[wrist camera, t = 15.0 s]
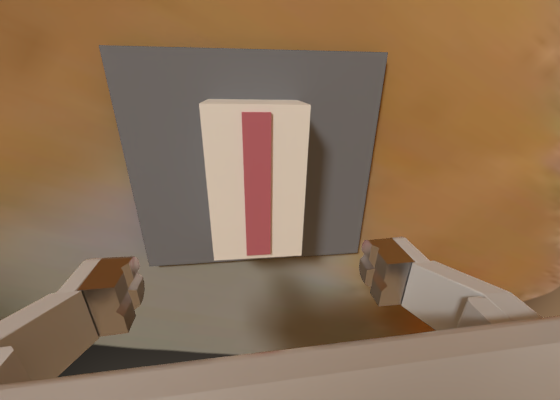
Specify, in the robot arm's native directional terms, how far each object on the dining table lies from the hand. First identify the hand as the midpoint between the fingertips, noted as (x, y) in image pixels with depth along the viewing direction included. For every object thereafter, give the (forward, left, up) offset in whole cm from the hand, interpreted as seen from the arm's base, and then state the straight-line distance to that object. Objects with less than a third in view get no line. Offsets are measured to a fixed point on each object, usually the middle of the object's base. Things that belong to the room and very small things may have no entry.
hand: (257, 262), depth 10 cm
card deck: (0, 0, -11) cm, 11 cm away
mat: (0, 0, -12) cm, 12 cm away
